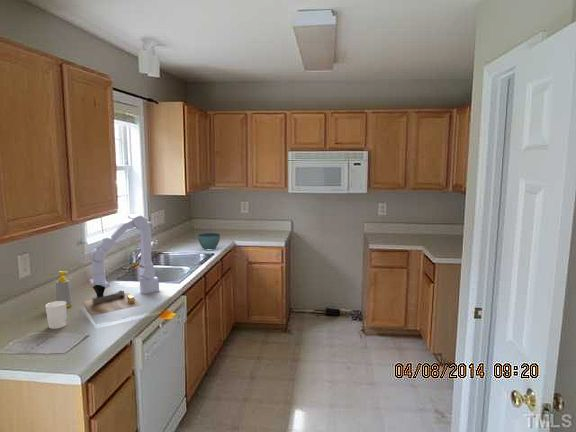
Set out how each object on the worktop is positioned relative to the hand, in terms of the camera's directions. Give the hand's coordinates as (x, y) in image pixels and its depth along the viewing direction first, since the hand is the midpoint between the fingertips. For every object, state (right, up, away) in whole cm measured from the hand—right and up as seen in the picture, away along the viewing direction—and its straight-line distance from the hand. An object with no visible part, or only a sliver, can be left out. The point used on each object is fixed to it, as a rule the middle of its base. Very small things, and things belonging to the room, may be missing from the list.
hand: (100, 299), depth 201 cm
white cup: (-6, -6, -26) cm, 28 cm away
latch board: (+7, -3, -2) cm, 8 cm away
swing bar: (+4, -1, +2) cm, 4 cm away
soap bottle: (-17, -3, -2) cm, 17 cm away
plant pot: (+29, +14, +131) cm, 135 cm away
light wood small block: (+16, -1, -1) cm, 16 cm away
